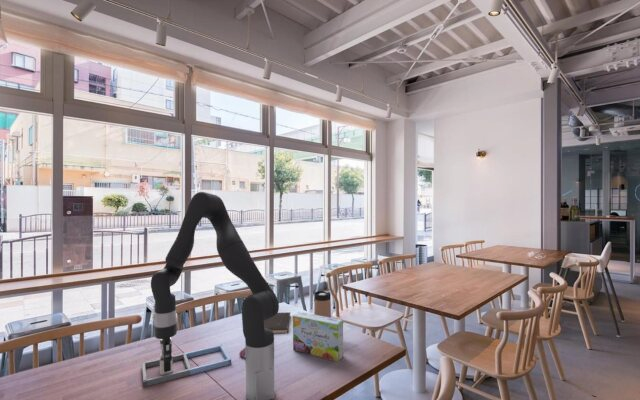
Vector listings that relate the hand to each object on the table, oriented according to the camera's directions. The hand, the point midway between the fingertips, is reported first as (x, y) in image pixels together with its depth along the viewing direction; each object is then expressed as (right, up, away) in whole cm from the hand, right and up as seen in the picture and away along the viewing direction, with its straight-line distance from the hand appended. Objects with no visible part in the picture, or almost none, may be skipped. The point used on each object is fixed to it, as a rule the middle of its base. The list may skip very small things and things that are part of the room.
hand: (166, 365), depth 124 cm
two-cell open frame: (+6, -2, +3) cm, 7 cm away
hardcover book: (+34, -2, +44) cm, 56 cm away
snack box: (+56, -1, +13) cm, 58 cm away
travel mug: (+59, -1, +29) cm, 65 cm away
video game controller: (+28, -2, +14) cm, 32 cm away
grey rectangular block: (0, -2, 0) cm, 2 cm away
